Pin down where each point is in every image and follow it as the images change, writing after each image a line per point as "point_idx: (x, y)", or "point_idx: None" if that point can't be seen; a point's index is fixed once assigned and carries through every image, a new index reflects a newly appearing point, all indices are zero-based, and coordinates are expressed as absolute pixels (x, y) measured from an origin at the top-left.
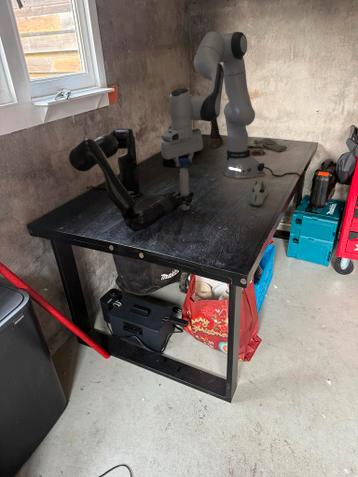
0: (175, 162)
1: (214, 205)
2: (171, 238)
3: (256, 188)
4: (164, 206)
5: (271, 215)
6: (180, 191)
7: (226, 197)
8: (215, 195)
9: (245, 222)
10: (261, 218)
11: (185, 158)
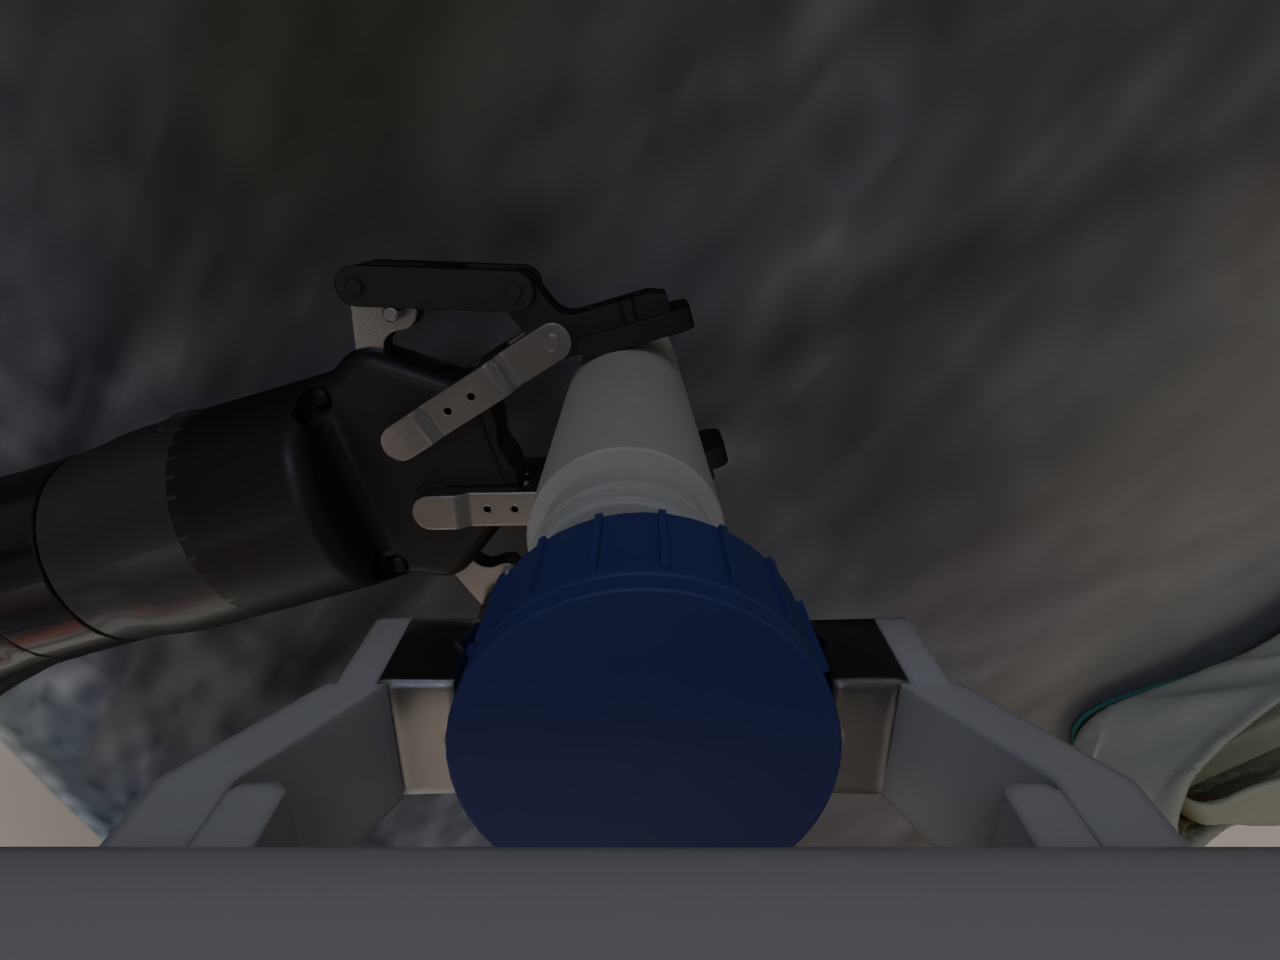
0: None
1: (882, 506)
2: (213, 707)
3: (1272, 801)
4: (144, 637)
5: None
6: (568, 391)
7: (1125, 447)
8: (1110, 321)
9: (794, 846)
10: None
11: (777, 713)
